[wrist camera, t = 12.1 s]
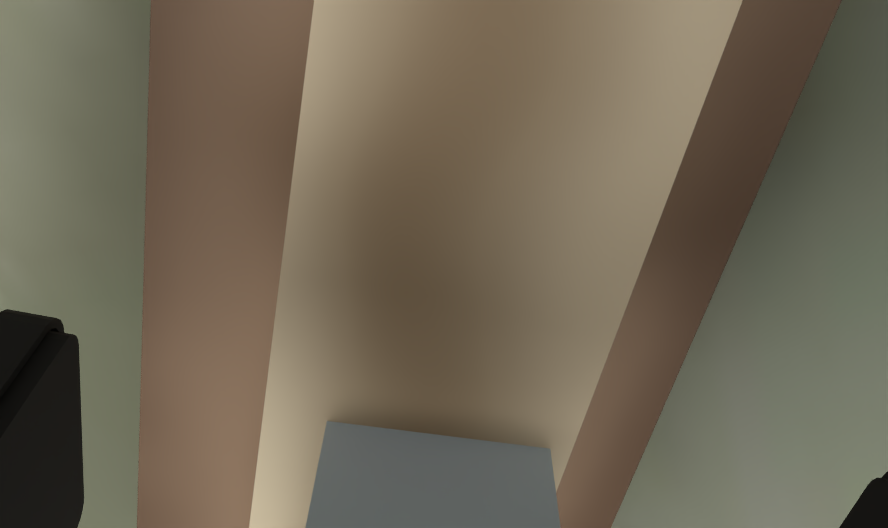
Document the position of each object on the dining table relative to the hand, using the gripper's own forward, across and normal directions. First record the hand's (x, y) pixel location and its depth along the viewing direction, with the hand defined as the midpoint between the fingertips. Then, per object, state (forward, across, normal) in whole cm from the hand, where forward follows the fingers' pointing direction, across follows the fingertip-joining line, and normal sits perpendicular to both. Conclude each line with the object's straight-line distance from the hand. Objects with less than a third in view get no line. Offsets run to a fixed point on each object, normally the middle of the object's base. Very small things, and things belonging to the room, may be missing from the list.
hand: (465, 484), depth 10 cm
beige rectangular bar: (+8, 0, +4) cm, 9 cm away
